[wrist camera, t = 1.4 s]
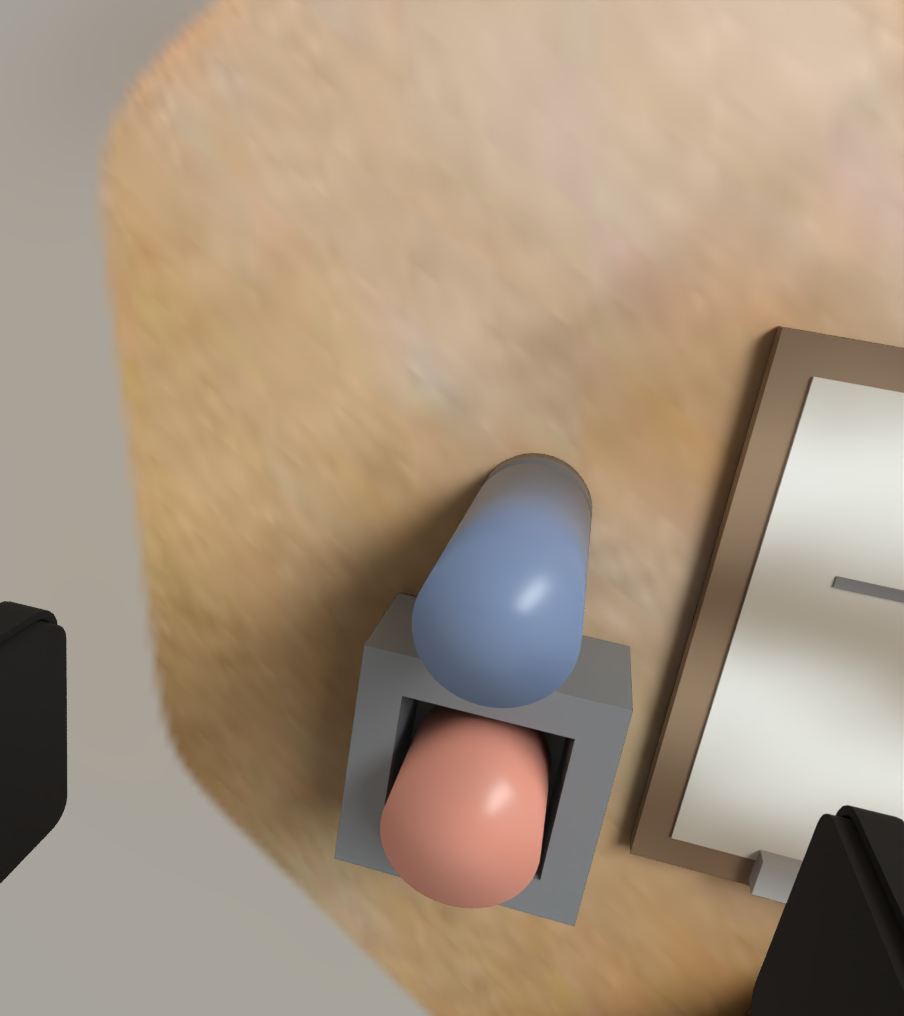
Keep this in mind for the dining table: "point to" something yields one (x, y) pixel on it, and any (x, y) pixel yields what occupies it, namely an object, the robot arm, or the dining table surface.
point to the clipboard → (793, 628)
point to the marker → (510, 587)
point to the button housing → (560, 716)
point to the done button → (468, 809)
